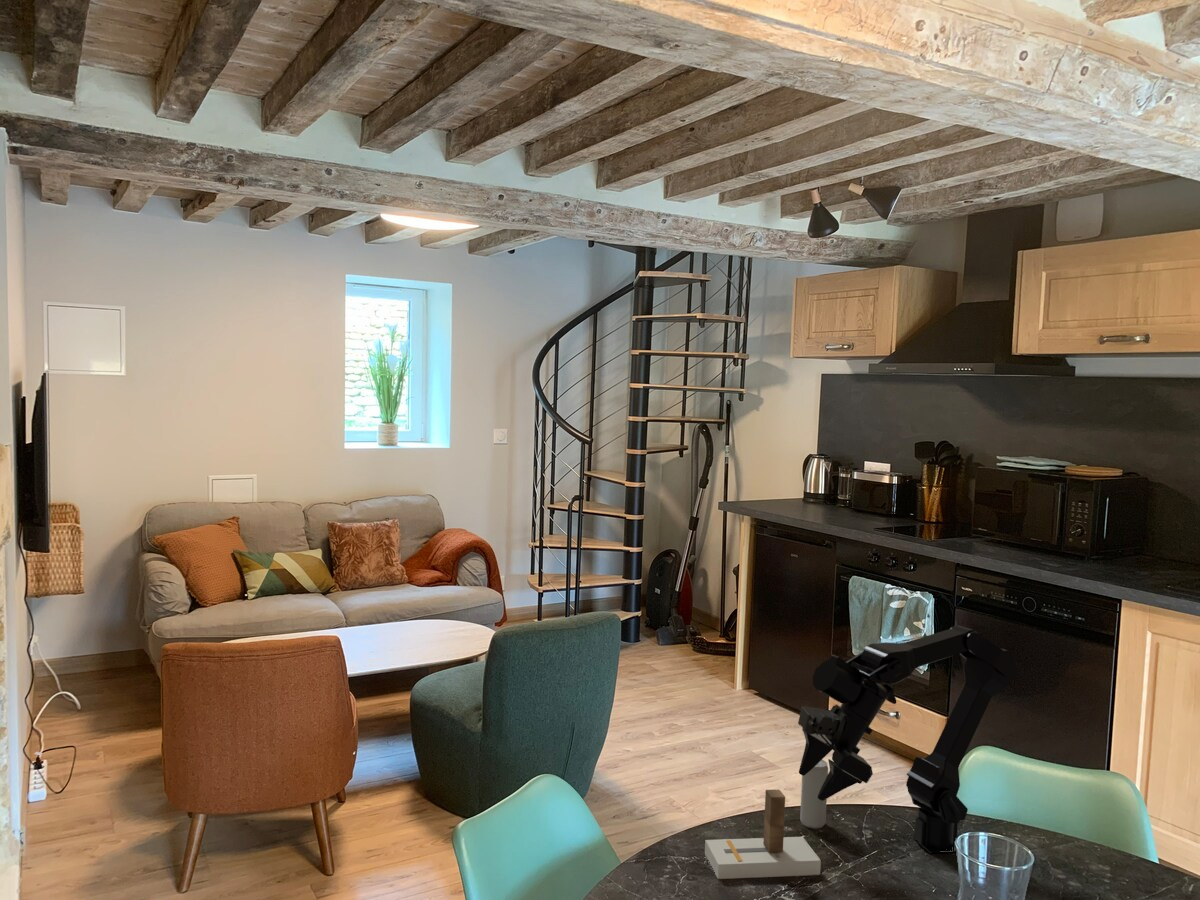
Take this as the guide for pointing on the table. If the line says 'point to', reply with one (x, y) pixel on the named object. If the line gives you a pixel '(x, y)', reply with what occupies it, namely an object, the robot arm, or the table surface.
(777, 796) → the lever
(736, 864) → the fader console
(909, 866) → the table surface
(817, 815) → the beverage can
